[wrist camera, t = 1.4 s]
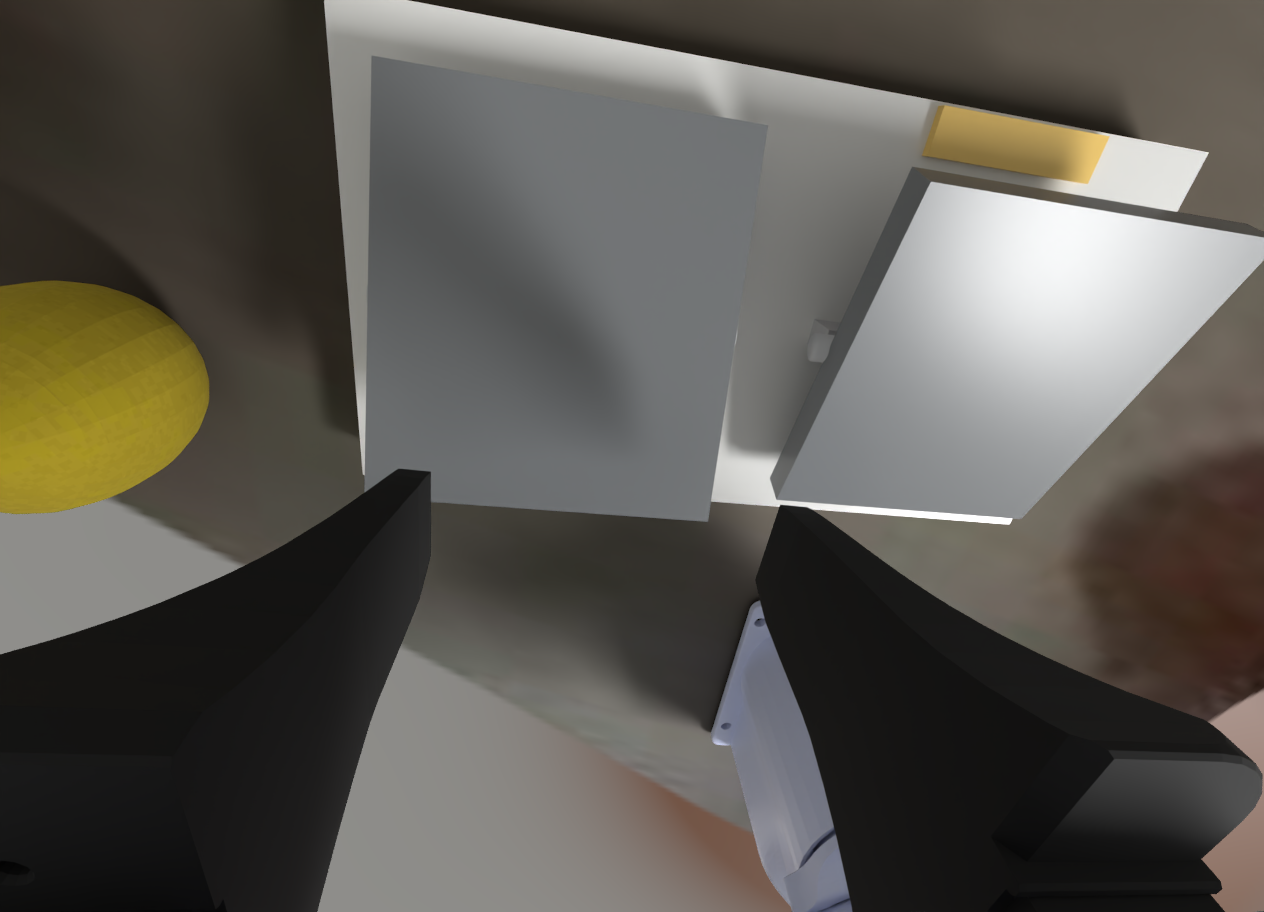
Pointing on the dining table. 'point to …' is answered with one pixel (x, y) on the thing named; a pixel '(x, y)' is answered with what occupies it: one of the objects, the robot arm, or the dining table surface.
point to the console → (787, 196)
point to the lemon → (90, 394)
